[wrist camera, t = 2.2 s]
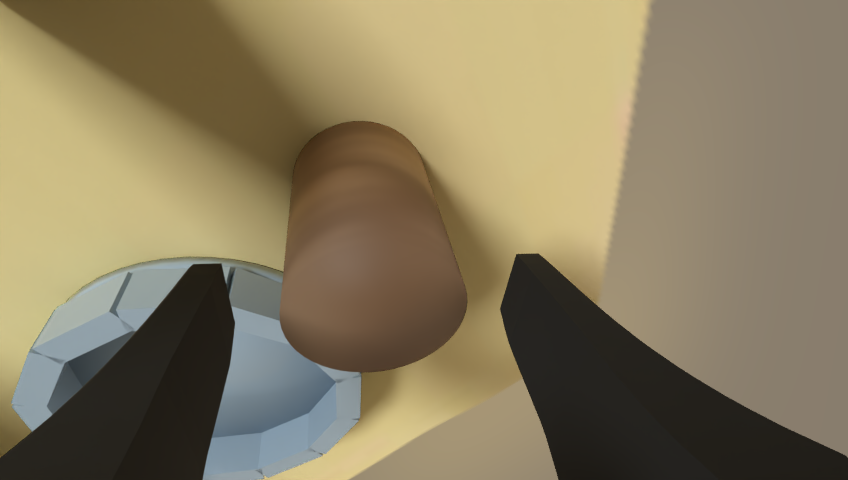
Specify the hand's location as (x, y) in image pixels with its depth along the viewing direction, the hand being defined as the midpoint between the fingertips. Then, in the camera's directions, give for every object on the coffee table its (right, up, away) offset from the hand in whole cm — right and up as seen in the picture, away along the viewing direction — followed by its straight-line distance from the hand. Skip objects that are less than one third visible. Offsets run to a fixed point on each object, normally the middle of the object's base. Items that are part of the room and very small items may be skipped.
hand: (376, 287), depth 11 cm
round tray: (-8, -4, +8) cm, 12 cm away
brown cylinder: (-1, +3, +4) cm, 5 cm away
